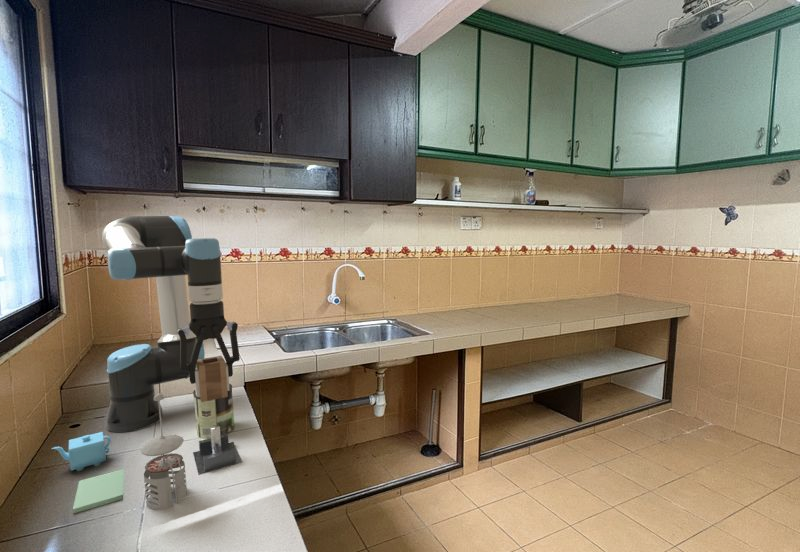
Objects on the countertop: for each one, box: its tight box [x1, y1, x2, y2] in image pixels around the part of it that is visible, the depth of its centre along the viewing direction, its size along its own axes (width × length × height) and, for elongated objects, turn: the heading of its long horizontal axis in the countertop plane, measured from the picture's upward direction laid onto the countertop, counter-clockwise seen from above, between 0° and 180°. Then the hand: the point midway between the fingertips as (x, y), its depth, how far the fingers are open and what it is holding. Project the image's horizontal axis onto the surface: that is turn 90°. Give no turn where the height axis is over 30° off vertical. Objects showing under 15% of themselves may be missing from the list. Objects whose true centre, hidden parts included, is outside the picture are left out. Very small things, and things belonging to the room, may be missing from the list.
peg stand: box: [192, 425, 243, 476], centre depth 106 cm, size 12×10×10 cm
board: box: [72, 468, 126, 514], centre depth 96 cm, size 12×10×1 cm
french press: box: [139, 393, 188, 510], centre depth 89 cm, size 10×12×25 cm
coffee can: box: [192, 383, 235, 440], centre depth 121 cm, size 10×10×14 cm
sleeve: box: [196, 355, 228, 402], centre depth 104 cm, size 6×6×9 cm
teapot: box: [51, 431, 112, 472], centre depth 106 cm, size 12×6×8 cm, turn 128°
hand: (212, 391), depth 105 cm, fingers closed on sleeve, 6 cm apart
